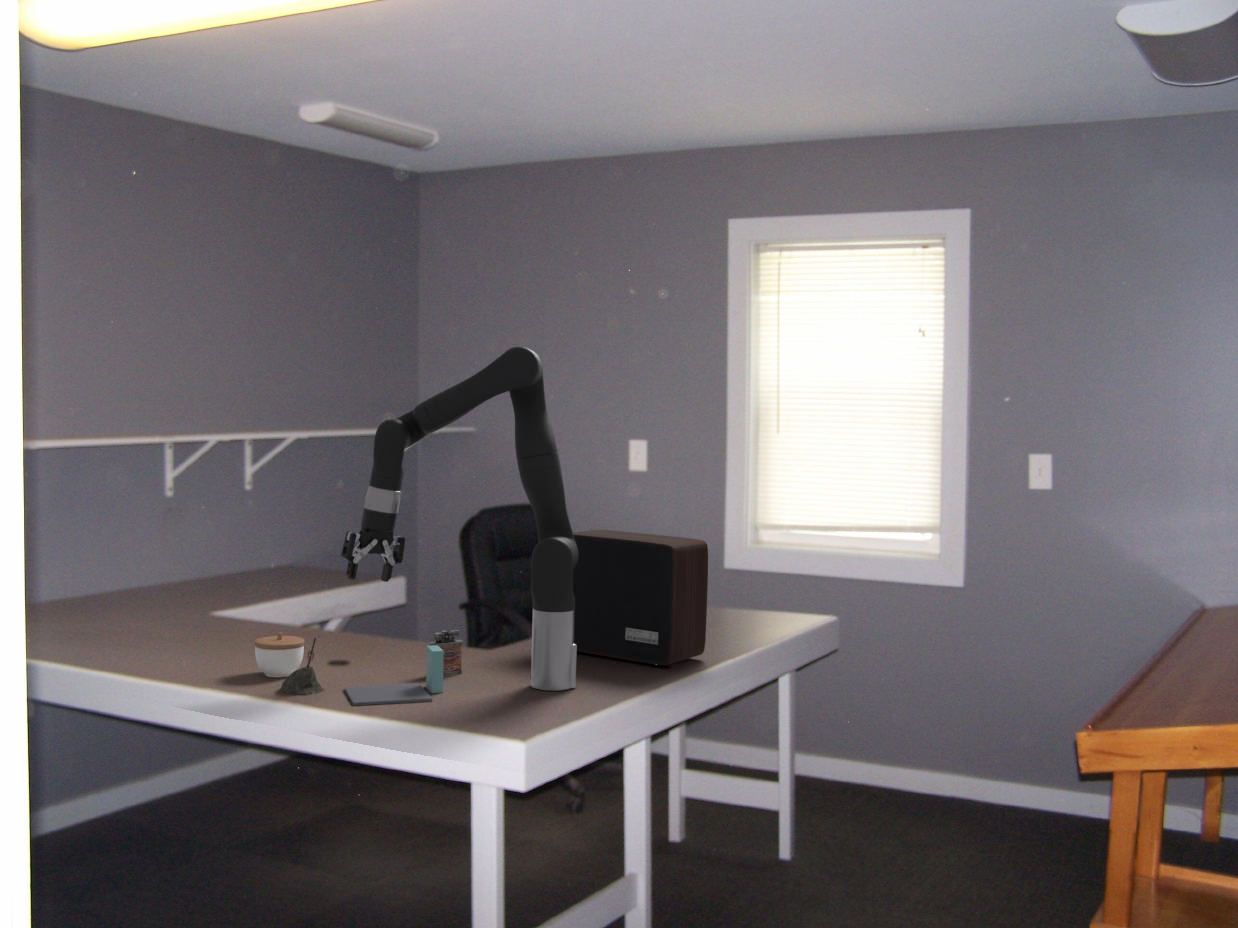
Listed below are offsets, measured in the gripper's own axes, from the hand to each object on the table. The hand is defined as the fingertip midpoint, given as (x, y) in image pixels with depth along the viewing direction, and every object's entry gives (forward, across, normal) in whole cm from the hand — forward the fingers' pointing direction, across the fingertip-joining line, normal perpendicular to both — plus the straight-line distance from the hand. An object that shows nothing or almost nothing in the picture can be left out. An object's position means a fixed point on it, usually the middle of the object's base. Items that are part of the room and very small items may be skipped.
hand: (368, 580), depth 270 cm
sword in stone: (+24, -14, -4) cm, 28 cm away
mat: (+21, -2, -18) cm, 27 cm away
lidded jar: (+25, -10, +12) cm, 30 cm away
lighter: (+19, +20, -8) cm, 29 cm away
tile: (+19, +9, -19) cm, 29 cm away
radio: (+13, +69, -15) cm, 72 cm away
